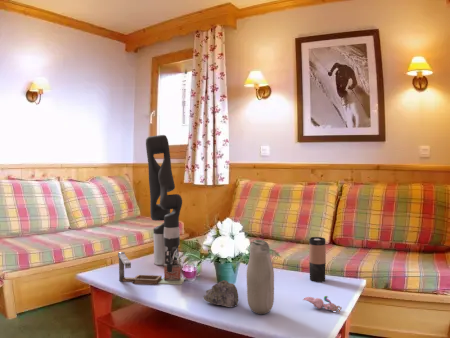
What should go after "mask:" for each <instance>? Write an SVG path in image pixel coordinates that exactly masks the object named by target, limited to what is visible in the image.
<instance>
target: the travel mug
mask: <svg viewBox="0 0 450 338" xmlns="http://www.w3.org/2000/svg"><path fill="white" fill-rule="evenodd" d="M308 241H309V245H308V247H309V252H308V253H309V256H308V257H309V260H308V261H309V263H308V264H309V267H308V268H309V280H310V281H311V282H313V283H323V282H322V281H324V282H325V281H326V268H327V267H326V264H327V261H326V260H327V259H326V258H327V257H326V256H327V255H326V253H327V252H326V251H327V250H326V249H327V248H326V238H325V237H322V236H321V237H320V236H313V237H310V238H309V239H308Z"/></svg>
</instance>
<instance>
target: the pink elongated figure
mask: <svg viewBox="0 0 450 338" xmlns="http://www.w3.org/2000/svg"><path fill="white" fill-rule="evenodd" d="M302 301H307V302H309V303H310V304H312V305H313V306H314V307H315V308H317V309H319V310H321V308H322V309H323V308H324V309H325V310H329V311H330V310H332V311H336V312H337V311H338V313H340V312H341V311H340V310H342V306H340V305H336V304H335V303H333V302H331V300H330V299H329V296H328V295H325V296H324V297H323V299H321V298H319V297H316V298H315V297H311V296H306V297H303V299H302ZM324 302H326V303H324ZM332 311H331V312H332Z"/></svg>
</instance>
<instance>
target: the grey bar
mask: <svg viewBox="0 0 450 338" xmlns="http://www.w3.org/2000/svg"><path fill="white" fill-rule="evenodd" d="M117 257H118V258H119V257H120V259H121V260H122V262H123V263H124V270H125V269H131V268H132V267H131V266H132V263H131V261H130V259H129V258H128V256H127V255H126V254H125V251H119V252H117Z"/></svg>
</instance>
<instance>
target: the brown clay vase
mask: <svg viewBox="0 0 450 338" xmlns="http://www.w3.org/2000/svg"><path fill="white" fill-rule="evenodd" d="M246 290H247V291H246V298H247V300H246V301H247V304H248V307H249V309H250V310H251V311H252V312H254V313H255V314H259V315H265V314H268V313H270V311H271V310H272V308H273V306H274V302H275V271H274V266H273V262H272V259H271V254H270V246H269V243H268V242H267V241H265V240H262V239H255V240H253V241H252V242H251V243H250V246H249V257H248V263H247V268H246Z"/></svg>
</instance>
